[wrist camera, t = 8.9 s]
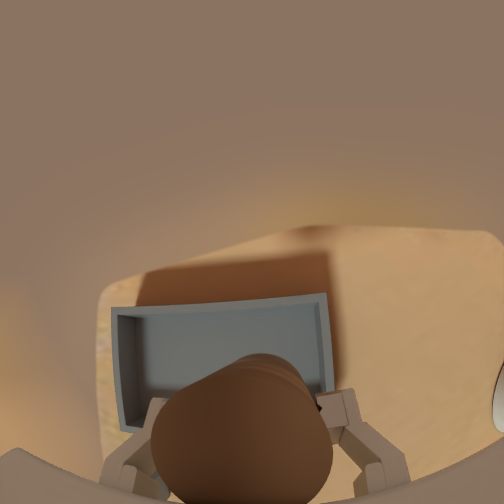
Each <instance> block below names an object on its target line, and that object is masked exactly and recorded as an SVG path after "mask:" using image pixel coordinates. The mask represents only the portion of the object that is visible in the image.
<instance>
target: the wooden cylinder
mask: <svg viewBox="0 0 504 504" xmlns="http://www.w3.org/2000/svg"><path fill="white" fill-rule="evenodd" d="M151 453H152V457H153V461H154V464H155V467H156V469H157V471H158V473H159V475H160V477H161V478H162V480H163V482H164V483H165V484H166V485H167V487H168V488H169V489H170V490H171V491H172V492H173V493H174V494H175V495H176V496H177V497H178V498H179V499H180V500H182V501H183V502H184V503H186V504H307V503H308V502H309V501H311V500H312V499H313V498H314V497H315V496H316V495H317V493H318V492H319V491H320V490H321V488H322V487H323V485H324V484H325V482H326V480H327V478H328V476H329V473H330V470H331V466H332V460H333V447H332V441H331V437H330V433H329V431H328V429H327V427H326V424H325V422H324V420H323V418H322V416H321V414H320V412H319V411H318V409H317V407H316V405H315V403H314V401H313V399H312V397H311V395H310V393H309V391H308V389H307V387H306V385H305V383H304V381H303V379H302V377H301V375H300V373H299V372H298V370H297V369H296V368H295V367H294V366H293V365H292V364H291V363H289V362H288V361H287V360H285V359H283V358H281V357H279V356H276V355H272V354H266V353H257V354H251V355H247V356H244V357H242V358H240V359H238V360H236V361H234V362H233V363H231V364H229V365H227V366H225V367H223V368H222V369H220V370H218V371H216V372H214V373H212V374H210V375H208V376H206V377H204V378H202V379H201V380H199V381H197V382H195V383H193V384H191V385H189V386H187V387H185V388H183V389H181V390H180V391H178V392H177V393H175V394H174V395H173V396H172V397H171V398H170V399H169V400H168V401H167V402H166V403H165V404H164V406H163V407H162V408H161V409H160V411H159V413H158V415H157V416H156V419H155V421H154V424H153V427H152V432H151Z"/></svg>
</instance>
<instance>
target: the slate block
mask: <svg viewBox="0 0 504 504" xmlns="http://www.w3.org/2000/svg"><path fill="white" fill-rule="evenodd" d="M150 478H152V479H153V480H155V481H156V482H158V483H159V484H160V489H159V495H158V499H160V500H165V501H167V499H168V498H169V497H170V494H169V490H168V487H167V485H166V484H165V483H164V482H163V480H162V478H161V477H160V475H159V473H158V471H157V470H156V471H155V472H154V473H153V474H152V475H151V476H150Z"/></svg>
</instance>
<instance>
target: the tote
mask: <svg viewBox="0 0 504 504" xmlns="http://www.w3.org/2000/svg"><path fill="white" fill-rule="evenodd" d="M111 334H112V357H113V371H114V383H115V393H116V402H117V409H118V417H119V423H120V430H121V431H123V432H129V433H135V432H137V431H138V430H139V429H143V426H144V422H145V419H146V415H147V412H148V408H149V405H150V401H151V400H152V398H153V397H155V398H168V399H170V398H171V397H172V396H173V395H174V394H175V393H177V392H178V391H180V390H181V389H183V388H185V387H187V386H189V385H191V384H193V383H195V382H197V381H199V380H201V379H202V378H204V377H206V376H208V375H210V374H212V373H214V372H216V371H218V370H220V369H222V368H223V367H225V366H227V365H229V364H231V363H233V362H234V361H236V360H238V359H240V358H242V357H244V356H247V355H251V354H257V353H266V354H272V355H276V356H279V357H281V358H283V359H285V360H287V361H288V362H289V363H291V364H292V365H293V366H294V367H295V368H296V369H297V370H298V372H299V373H300V375H301V377H302V379H303V381H304V383H305V385H306V387H307V389H308V391H309V393H310V395H311V397H312V399H313V401H314V403H315V394H318V393H324V392H330V391H335V385H334V369H333V355H332V343H331V332H330V322H329V312H328V303H327V294H326V292H324V293H315V294H306V295H297V296H287V297H277V298H266V299H255V300H243V301H230V302H216V303H201V304H184V305H163V306H137V307H111Z"/></svg>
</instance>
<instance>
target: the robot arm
mask: <svg viewBox="0 0 504 504" xmlns="http://www.w3.org/2000/svg"><path fill="white" fill-rule="evenodd" d="M168 400H169V399H168V398H155V397H153V398H152V400H151V401H150V405H149V408H148V412H147V415H146V419H145V422H144V426H143V429H139V430H138V431H137V432H135V433H134V434H133V435H132V436H131V437H130V438H129V439H128V440H126V441H125V442H124V443H123V444H122V445H121V446H120V447H118V448H117V449H116V450H115V451H114V452H113V453H112V454H110V455H109V456H108V457H107V458H106V459H105V463H104V466H103V469H102V473H101V476H100V480H99V483H97V482H94V481H91V480H88V479H85V478H83V477H80V476H78V475H75V474H73V473H70V472H68V471H66V470H63V469H61V468H59V467H57V466H54V465H52V464H50V463H48V462H46V461H44V460H42V459H40V458H38V457H36V456H34V455H32V454H30V453H29V452H27V451H25V450H23V449H21V448H15V449H12V450H11V451H9V452H7V453H6V454H4V455H3V456H1V457H0V504H184V503H177V502H171V501H165V500H160V499H158V495H159V489H160V484H159V483H158V482H156V481H155V480H153V479H152V478H150V476H151V475H152V474H153V473H154V472H155V471H156V470H157V469H156V467H155V464H154V461H153V457H152V453H151V432H152V427H153V424H154V421H155V419H156V416H157V415H158V413H159V411H160V409H161V408H162V407H163V406H164V404H165V403H166V402H167V401H168ZM315 405H316V407H317V409H318V411H319V412H320V414H321V416H322V418H323V420H324V422H325V424H326V427H327V429H328V431H329V433H330V437H331V441H332V445H333V444H338V445H339V446H340V447H341V448H342V449H343V450H344V451H345V452H346V454H347V455H348V456H349V457H350V458H351V459H352V460H353V461H354V462H355V463H356V464H357V465H358V466H359V467H360V468H361V469H362V472H361V473H360V475H359V476H358V477H357V478H356V479H355V481H354V482H353V486H354V494H355V498H350V499H345V500H340V501H335V502H329V503H322V504H504V437H502V438H500V439H499V440H497V441H496V442H494V443H492V444H491V445H489V446H487V447H486V448H484V449H482V450H480V451H478V452H477V453H475V454H473V455H471V456H469V457H467V458H465V459H463V460H461V461H459V462H457V463H455V464H453V465H451V466H449V467H446V468H444V469H442V470H440V471H437V472H435V473H432V474H430V475H428V476H425V477H422V478H420V479H417V480H414V481H412V482H411V480H410V475H409V471H408V467H407V463H406V460H405V456H404V453H402V452H401V451H400V450H399V449H398V448H396V447H395V446H394V445H393V444H391V443H390V442H389V441H388V440H387V439H385V438H384V437H383V436H382V435H381V434H380V433H378V432H377V431H376V430H375V429H374V428H372V427H371V426H370V425H369V424H368V423H367V422H362V419H361V415H360V411H359V407H358V403H357V399H356V395H355V391H354V390H353V388H349V389H343V390H336V391H330V392H324V393H318V394H315ZM493 420H494V423H495V426H496V428H497V429H498V430H499V431H500V432H503V433H504V366H503V368H502V370H501V373H500V376H499V379H498V382H497V385H496V389H495V394H494V400H493Z"/></svg>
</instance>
